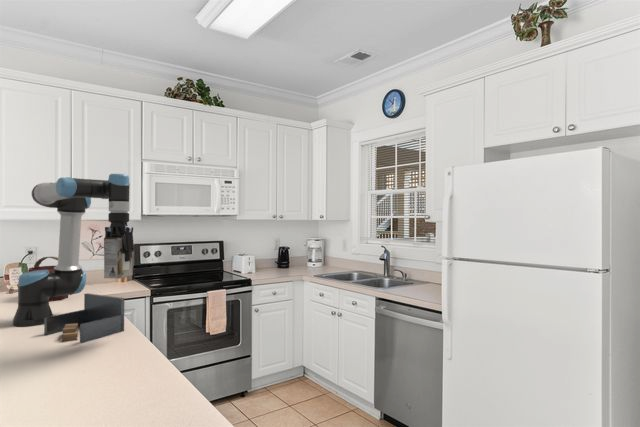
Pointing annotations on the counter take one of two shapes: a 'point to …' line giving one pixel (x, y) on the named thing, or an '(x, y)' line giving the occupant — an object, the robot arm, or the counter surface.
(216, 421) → the counter surface
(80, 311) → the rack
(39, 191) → the robot arm
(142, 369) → the counter surface
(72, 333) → the offcut stack
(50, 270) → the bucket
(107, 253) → the coffee box
